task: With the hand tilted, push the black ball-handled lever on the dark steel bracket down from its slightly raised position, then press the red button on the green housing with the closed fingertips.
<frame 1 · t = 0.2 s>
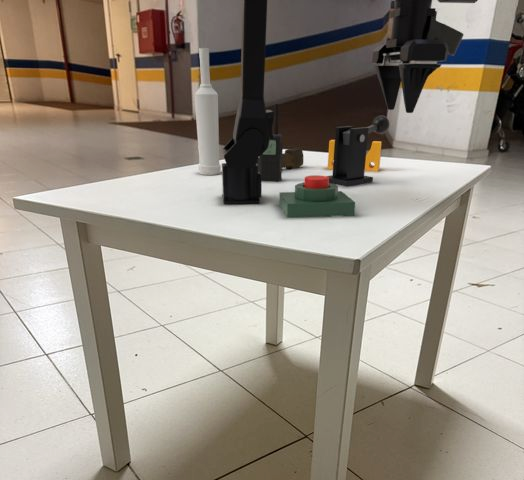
hand: (399, 111, 86), 15 cm above the table, tool pointing down, fingers open, 9 cm apart
button: (316, 183, 81), point 4 cm above the table, slide at 0.1 cm
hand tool: (276, 171, 119), on the table
lever: (366, 130, 103), point 10 cm above the table, hinge at 12.0°
bracket: (347, 182, 105), on the table
walkie-talkie: (270, 181, 107), on the table
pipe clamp: (353, 170, 121), on the table
bottle: (210, 174, 116), on the table
button box: (315, 210, 83), on the table
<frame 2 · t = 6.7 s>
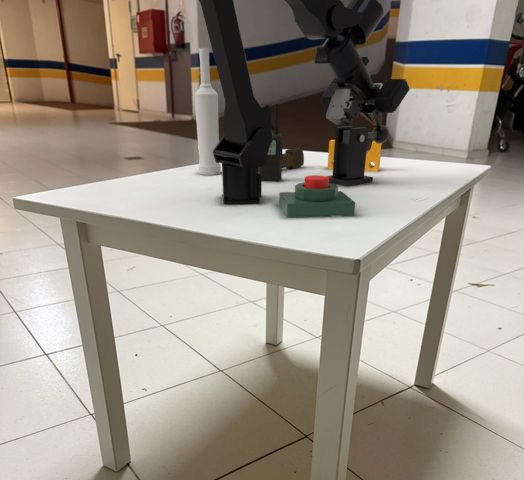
hand: (379, 125, 105), 11 cm above the table, tool tilted 45°, fingers closed, pressing on lever
lever: (366, 135, 104), point 9 cm above the table, hinge at -0.1°, touching gripper
everything else where it was.
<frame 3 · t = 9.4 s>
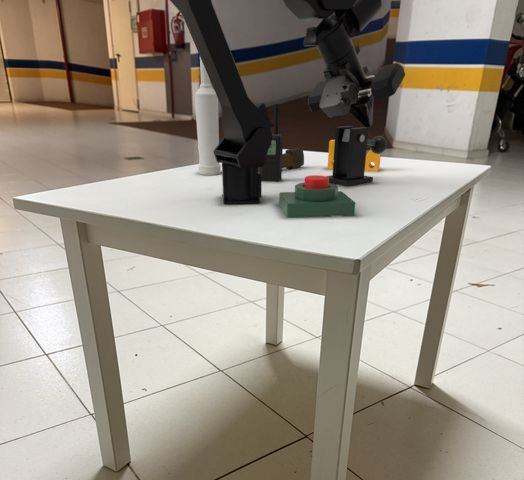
hand: (369, 126, 100), 11 cm above the table, tool tilted 40°, fingers closed
lever: (365, 141, 104), point 8 cm above the table, hinge at -13.6°
everything else where it was.
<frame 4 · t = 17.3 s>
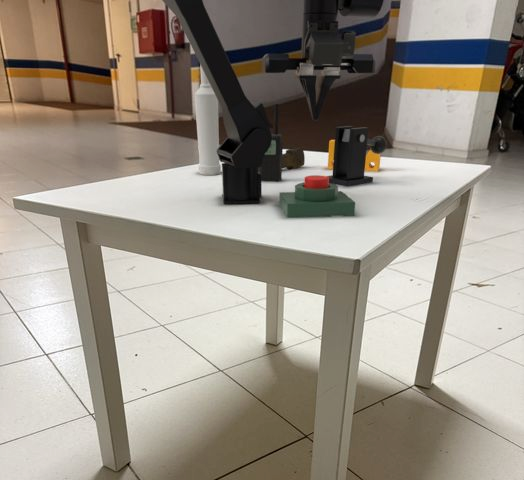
hand: (315, 119, 89), 13 cm above the table, tool pointing down, fingers closed
nothing on the table moved.
at the end: lever at -14° (first picture: +12°); button pushed in 1.2 cm at the most during the clip, back to where it started at the end; button slide at 0.1 cm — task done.
